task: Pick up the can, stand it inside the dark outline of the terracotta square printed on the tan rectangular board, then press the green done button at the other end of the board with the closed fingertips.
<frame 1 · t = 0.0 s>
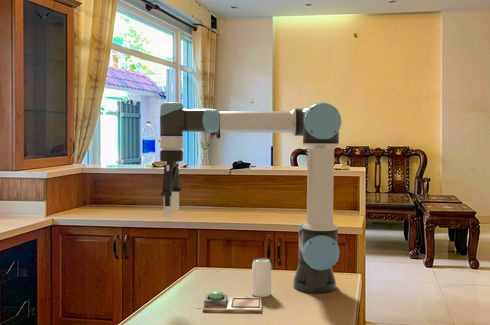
hand: (171, 213, 170), 28 cm above the table, fingers open, 13 cm apart
tan rectangular board: (233, 305, 162), on the table
done button: (216, 295, 162), point 3 cm above the table, slide at 0.0 cm
can: (261, 295, 174), on the table
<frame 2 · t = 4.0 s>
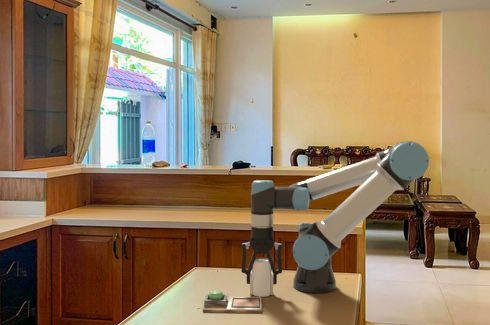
hand: (261, 293, 174), 0 cm above the table, fingers closed on can, 6 cm apart
can: (261, 295, 174), on the table, touching gripper
everything else where it was.
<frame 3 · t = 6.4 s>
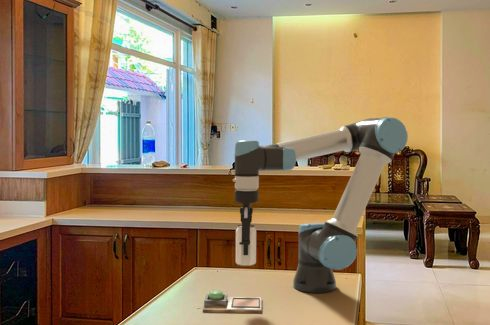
hand: (246, 262, 161), 14 cm above the table, fingers closed on can, 6 cm apart
can: (245, 264, 161), point 13 cm above the table, touching gripper
everything else where it was.
when the fingers open (2 cm above the table, at t = 8.8 s): can stays where it is, resting on tan rectangular board.
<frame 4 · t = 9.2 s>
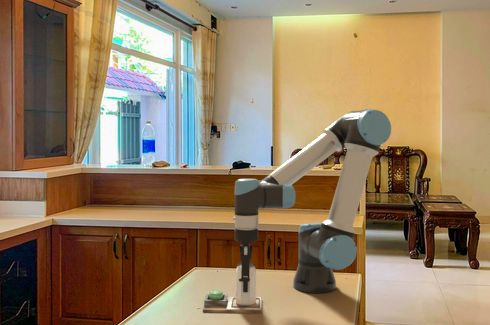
hand: (245, 295, 162), 3 cm above the table, fingers open, 12 cm apart
can: (245, 303, 162), point 1 cm above the table, touching tan rectangular board
everything else where it was.
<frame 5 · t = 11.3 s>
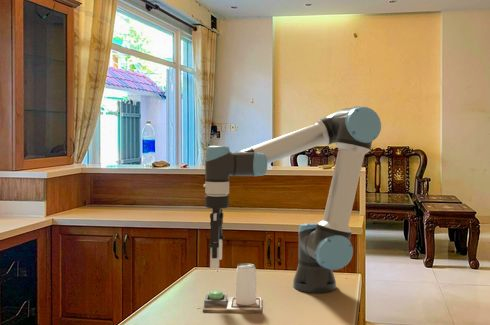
hand: (216, 263, 161), 13 cm above the table, fingers open, 11 cm apart
nothing on the table moved.
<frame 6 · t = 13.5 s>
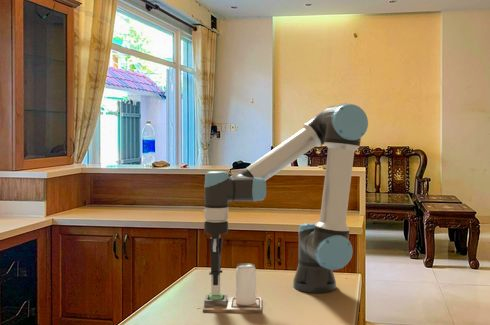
hand: (215, 294, 162), 4 cm above the table, fingers closed
done button: (216, 298, 162), point 2 cm above the table, slide at 0.7 cm, touching gripper
everything else where it was.
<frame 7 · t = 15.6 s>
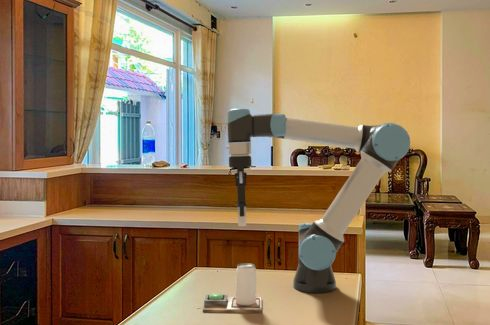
hand: (242, 225, 171), 24 cm above the table, fingers closed
done button: (216, 298, 162), point 2 cm above the table, slide at 0.8 cm
everything else where it was.
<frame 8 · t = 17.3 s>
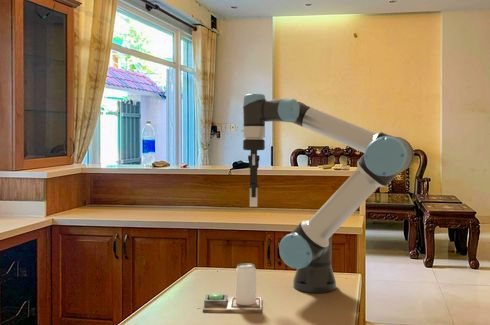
hand: (253, 206, 178), 29 cm above the table, fingers closed
nothing on the table moved.
at the end: can 0.0 cm from the target spot on the tan rectangular board, point 0.7 cm above the tan rectangular board's base; can tilted 0°; done button slide at 0.8 cm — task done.
